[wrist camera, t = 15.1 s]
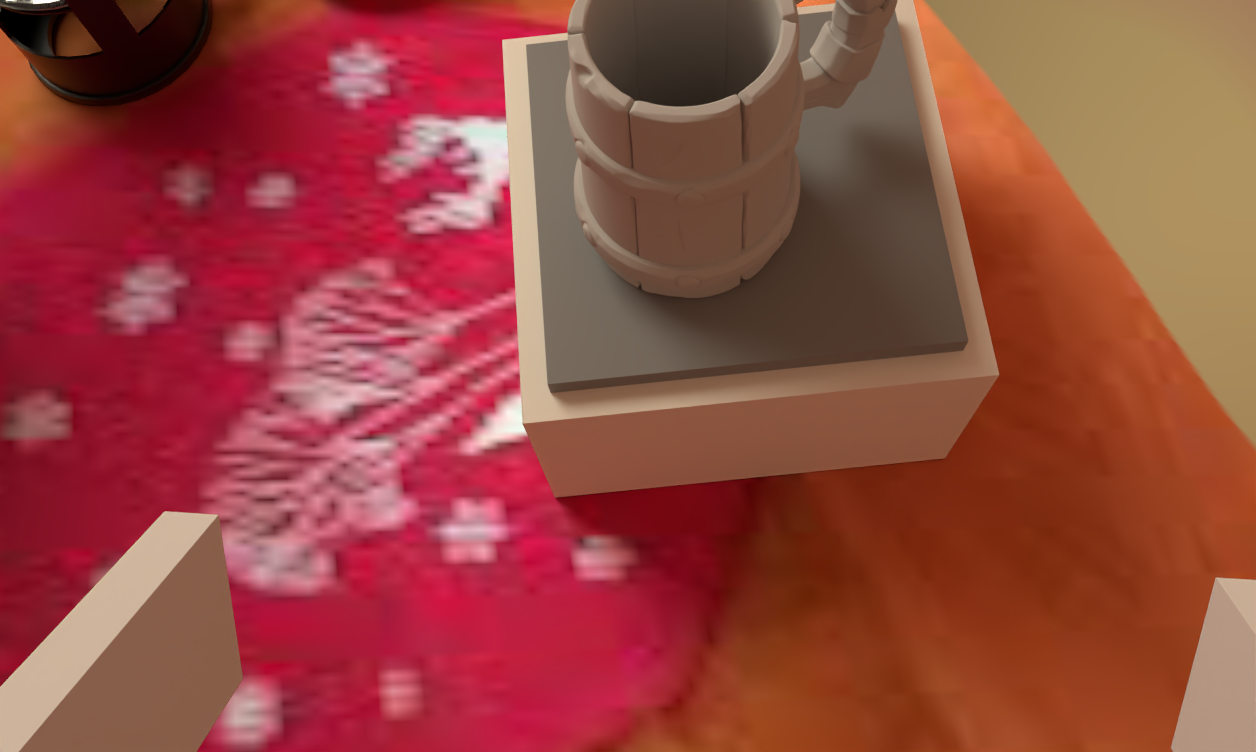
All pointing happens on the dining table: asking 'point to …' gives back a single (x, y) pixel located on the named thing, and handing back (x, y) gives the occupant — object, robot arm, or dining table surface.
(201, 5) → the french press
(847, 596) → the dining table surface
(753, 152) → the mug
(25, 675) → the robot arm
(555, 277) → the stand
